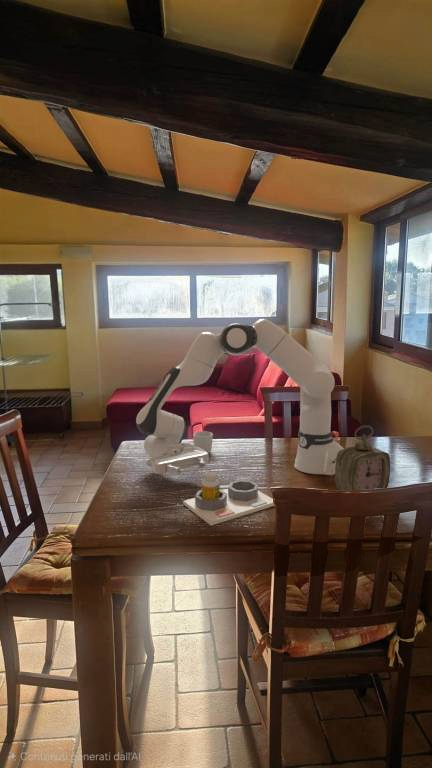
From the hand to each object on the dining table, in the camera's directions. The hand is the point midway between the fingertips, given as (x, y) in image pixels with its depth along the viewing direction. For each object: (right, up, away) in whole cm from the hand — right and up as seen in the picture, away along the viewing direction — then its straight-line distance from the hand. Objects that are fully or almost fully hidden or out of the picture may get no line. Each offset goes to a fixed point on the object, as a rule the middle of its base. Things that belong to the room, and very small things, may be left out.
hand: (191, 468), depth 150 cm
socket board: (+12, -10, -6) cm, 17 cm away
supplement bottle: (+6, -9, -8) cm, 14 cm away
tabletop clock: (+52, -10, -6) cm, 54 cm away
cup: (+3, -1, +43) cm, 43 cm away
